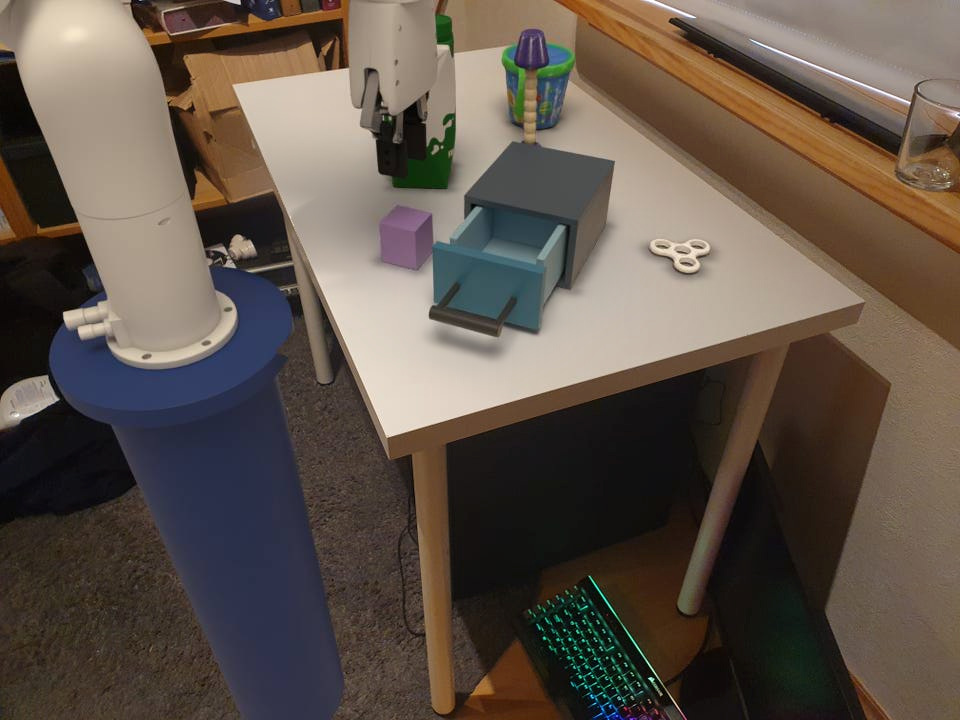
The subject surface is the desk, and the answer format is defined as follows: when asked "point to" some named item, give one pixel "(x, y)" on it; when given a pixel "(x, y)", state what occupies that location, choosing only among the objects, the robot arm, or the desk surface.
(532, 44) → the toy lamp
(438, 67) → the milk carton
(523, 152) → the drawer cabinet
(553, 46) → the snack cup
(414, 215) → the block
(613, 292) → the desk surface
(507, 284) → the blue drawer
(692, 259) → the fidget spinner
